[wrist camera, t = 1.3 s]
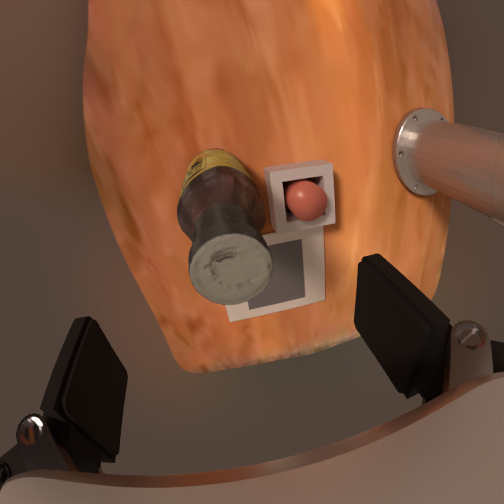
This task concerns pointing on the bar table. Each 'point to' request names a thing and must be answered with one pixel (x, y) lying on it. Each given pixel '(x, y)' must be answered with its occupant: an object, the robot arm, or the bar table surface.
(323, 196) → the button
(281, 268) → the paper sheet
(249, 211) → the sauce bottle
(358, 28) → the bar table surface
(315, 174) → the button housing
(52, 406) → the robot arm
